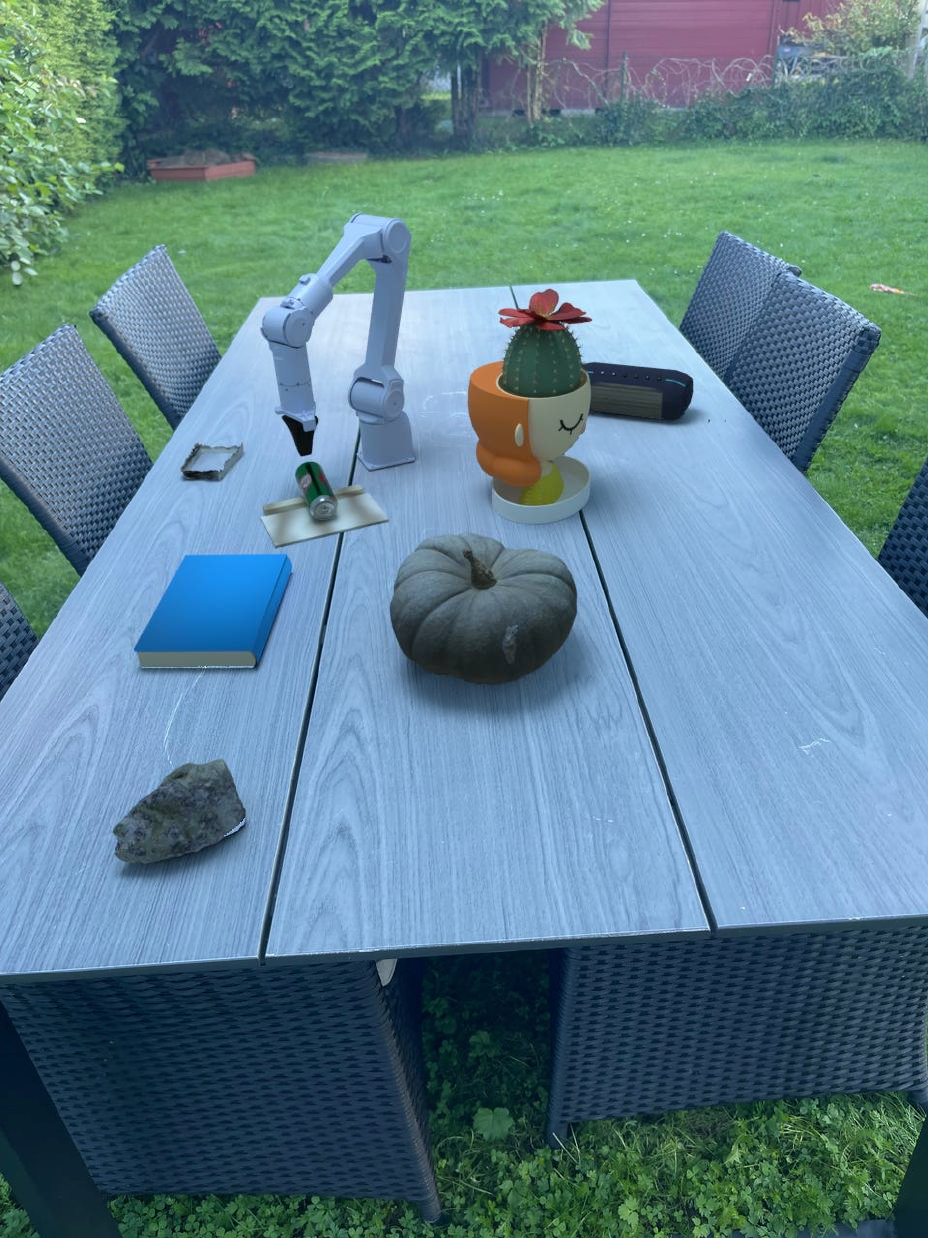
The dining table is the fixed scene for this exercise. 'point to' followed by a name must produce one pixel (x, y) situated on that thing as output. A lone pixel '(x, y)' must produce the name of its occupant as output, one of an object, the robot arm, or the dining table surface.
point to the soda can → (316, 490)
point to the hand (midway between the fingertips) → (305, 454)
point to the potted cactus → (534, 415)
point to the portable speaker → (639, 390)
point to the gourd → (481, 608)
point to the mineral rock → (181, 814)
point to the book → (215, 611)
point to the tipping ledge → (297, 523)
